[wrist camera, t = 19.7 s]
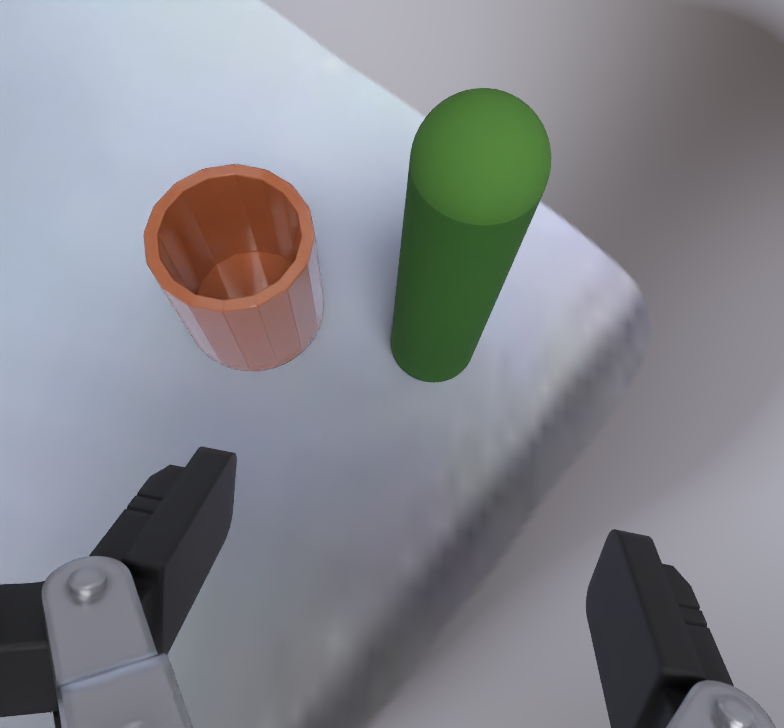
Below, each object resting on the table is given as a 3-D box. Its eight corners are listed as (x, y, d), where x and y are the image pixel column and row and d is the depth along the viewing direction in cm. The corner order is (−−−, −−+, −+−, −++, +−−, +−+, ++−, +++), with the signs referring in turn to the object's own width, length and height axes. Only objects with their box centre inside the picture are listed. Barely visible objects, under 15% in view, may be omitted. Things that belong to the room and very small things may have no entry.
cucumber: (383, 373, 30) (402, 163, 16) (399, 298, 31) (429, 43, 17) (466, 390, 30) (560, 194, 16) (478, 314, 31) (576, 70, 17)
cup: (170, 356, 30) (120, 292, 24) (209, 238, 32) (173, 151, 26) (305, 383, 30) (290, 325, 23) (336, 262, 32) (329, 180, 26)
